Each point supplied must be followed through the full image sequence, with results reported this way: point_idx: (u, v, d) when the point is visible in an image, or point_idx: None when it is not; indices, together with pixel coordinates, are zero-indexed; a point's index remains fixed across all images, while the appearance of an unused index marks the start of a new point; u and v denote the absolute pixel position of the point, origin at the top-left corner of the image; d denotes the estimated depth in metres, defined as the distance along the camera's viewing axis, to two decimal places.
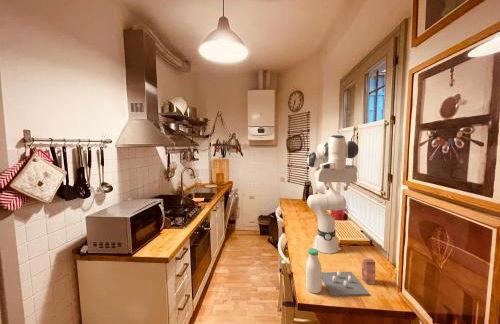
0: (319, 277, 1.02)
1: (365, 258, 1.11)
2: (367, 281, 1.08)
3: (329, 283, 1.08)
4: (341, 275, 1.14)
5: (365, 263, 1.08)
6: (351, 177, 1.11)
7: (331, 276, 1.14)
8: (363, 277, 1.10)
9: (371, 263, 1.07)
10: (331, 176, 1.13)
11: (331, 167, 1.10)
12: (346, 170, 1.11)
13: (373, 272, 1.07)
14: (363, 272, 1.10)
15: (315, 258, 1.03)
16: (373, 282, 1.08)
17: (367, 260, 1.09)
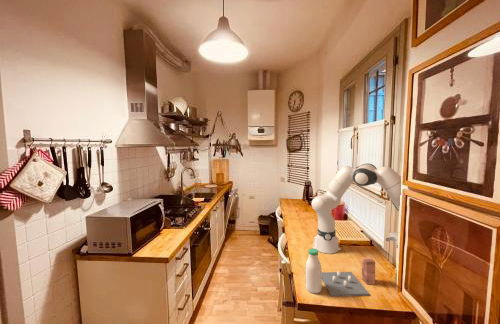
0: (319, 277, 1.02)
1: (365, 258, 1.11)
2: (367, 281, 1.08)
3: (329, 283, 1.08)
4: (341, 275, 1.14)
5: (365, 263, 1.08)
6: None
7: (331, 276, 1.14)
8: (363, 277, 1.10)
9: (371, 263, 1.07)
10: None
11: None
12: None
13: (373, 272, 1.07)
14: (363, 272, 1.10)
15: (315, 258, 1.03)
16: (373, 282, 1.08)
17: (367, 260, 1.09)
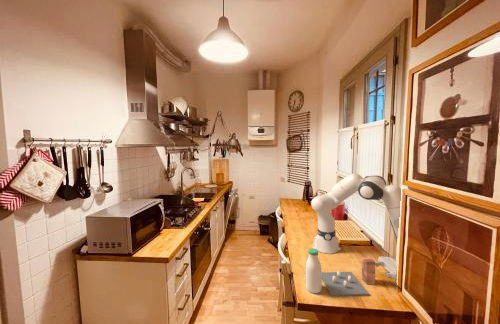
0: (319, 277, 1.02)
1: (365, 258, 1.11)
2: (367, 281, 1.08)
3: (329, 283, 1.08)
4: (341, 275, 1.14)
5: (365, 263, 1.08)
6: None
7: (331, 276, 1.14)
8: (363, 277, 1.10)
9: (371, 263, 1.07)
10: None
11: None
12: None
13: (373, 272, 1.07)
14: (363, 272, 1.10)
15: (315, 258, 1.03)
16: (373, 282, 1.08)
17: (367, 260, 1.09)
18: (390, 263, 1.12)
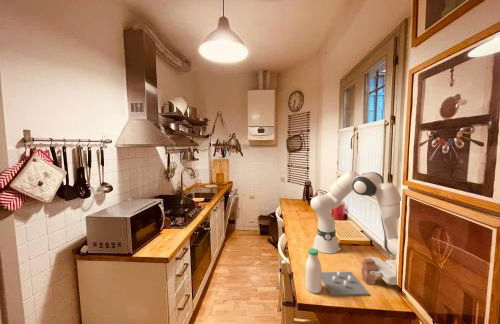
0: (319, 277, 1.02)
1: (365, 258, 1.11)
2: (367, 281, 1.08)
3: (329, 283, 1.08)
4: (341, 275, 1.14)
5: (365, 263, 1.08)
6: None
7: (331, 276, 1.14)
8: (363, 277, 1.10)
9: (371, 263, 1.07)
10: None
11: None
12: None
13: None
14: (363, 272, 1.10)
15: (315, 258, 1.03)
16: (373, 282, 1.08)
17: (367, 260, 1.09)
18: (377, 263, 1.12)
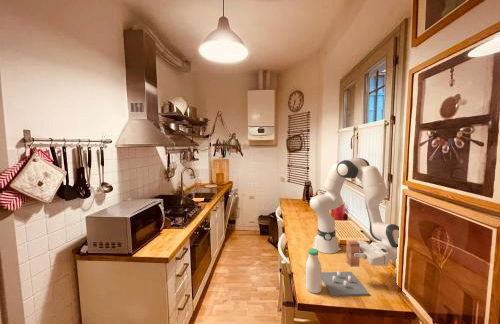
0: (319, 277, 1.02)
1: (350, 240, 1.09)
2: (351, 263, 1.06)
3: (329, 283, 1.08)
4: (341, 275, 1.14)
5: (350, 245, 1.07)
6: None
7: (331, 276, 1.14)
8: (348, 260, 1.09)
9: (355, 245, 1.06)
10: None
11: None
12: None
13: None
14: (348, 255, 1.09)
15: (315, 258, 1.03)
16: (357, 264, 1.07)
17: (351, 242, 1.07)
18: (361, 246, 1.11)
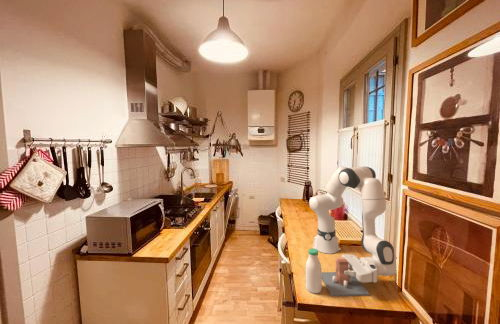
0: (319, 277, 1.02)
1: (339, 258, 1.09)
2: (340, 282, 1.06)
3: (329, 283, 1.08)
4: None
5: (338, 263, 1.07)
6: None
7: (331, 276, 1.14)
8: (337, 277, 1.09)
9: (344, 263, 1.06)
10: None
11: None
12: None
13: None
14: (337, 272, 1.09)
15: (315, 258, 1.03)
16: None
17: (340, 260, 1.07)
18: (351, 261, 1.10)
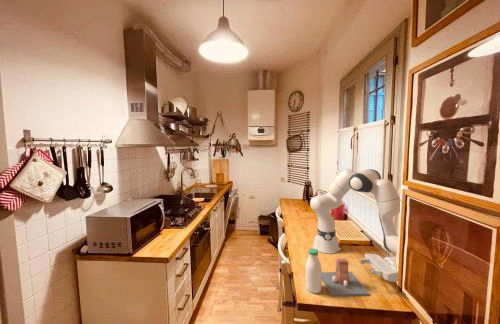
0: (319, 277, 1.02)
1: (339, 258, 1.09)
2: (340, 282, 1.06)
3: (329, 283, 1.08)
4: None
5: (338, 263, 1.07)
6: None
7: (331, 276, 1.14)
8: (337, 277, 1.09)
9: (344, 263, 1.06)
10: None
11: None
12: None
13: (346, 272, 1.06)
14: (337, 272, 1.09)
15: (315, 258, 1.03)
16: None
17: (340, 260, 1.07)
18: (376, 260, 1.10)
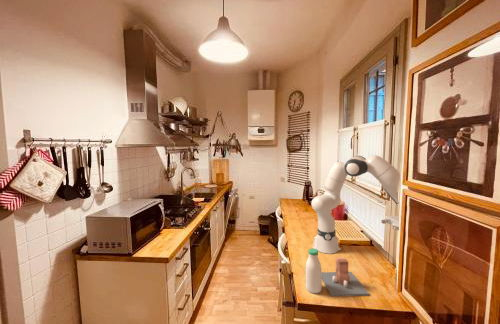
0: (319, 277, 1.02)
1: (339, 258, 1.09)
2: (340, 282, 1.06)
3: (329, 283, 1.08)
4: None
5: (338, 263, 1.07)
6: None
7: (331, 276, 1.14)
8: (337, 277, 1.09)
9: (344, 263, 1.06)
10: None
11: None
12: None
13: (346, 272, 1.06)
14: (337, 272, 1.09)
15: (315, 258, 1.03)
16: None
17: (340, 260, 1.07)
18: (397, 219, 1.12)
